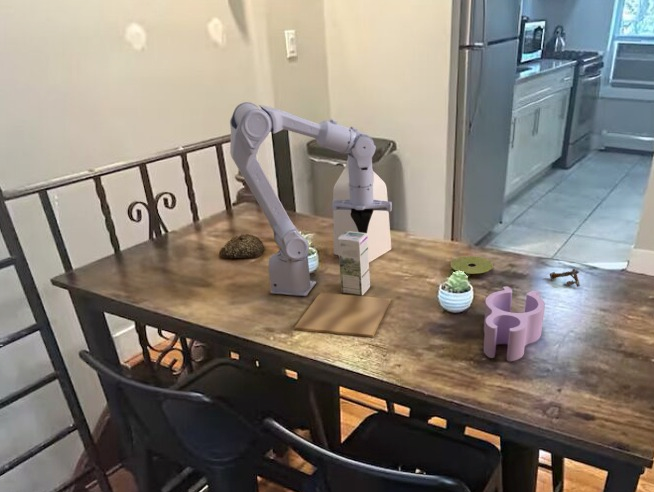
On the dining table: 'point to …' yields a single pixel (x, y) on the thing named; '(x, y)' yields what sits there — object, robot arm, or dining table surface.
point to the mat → (472, 265)
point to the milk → (378, 223)
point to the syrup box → (354, 262)
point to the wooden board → (344, 314)
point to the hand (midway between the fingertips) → (363, 238)
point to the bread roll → (242, 247)
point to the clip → (512, 323)
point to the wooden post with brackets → (573, 272)
